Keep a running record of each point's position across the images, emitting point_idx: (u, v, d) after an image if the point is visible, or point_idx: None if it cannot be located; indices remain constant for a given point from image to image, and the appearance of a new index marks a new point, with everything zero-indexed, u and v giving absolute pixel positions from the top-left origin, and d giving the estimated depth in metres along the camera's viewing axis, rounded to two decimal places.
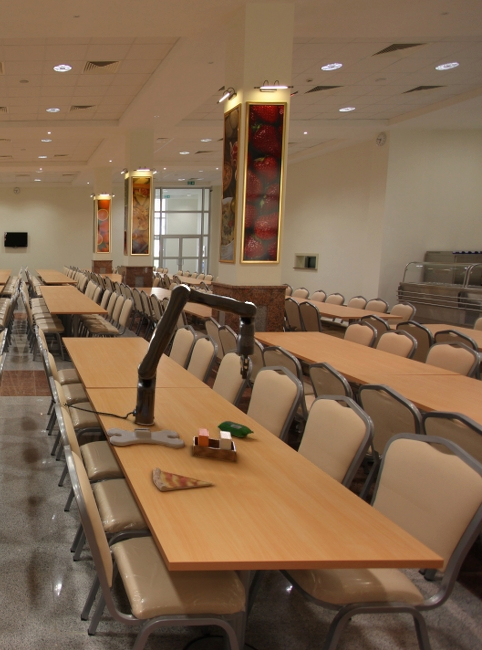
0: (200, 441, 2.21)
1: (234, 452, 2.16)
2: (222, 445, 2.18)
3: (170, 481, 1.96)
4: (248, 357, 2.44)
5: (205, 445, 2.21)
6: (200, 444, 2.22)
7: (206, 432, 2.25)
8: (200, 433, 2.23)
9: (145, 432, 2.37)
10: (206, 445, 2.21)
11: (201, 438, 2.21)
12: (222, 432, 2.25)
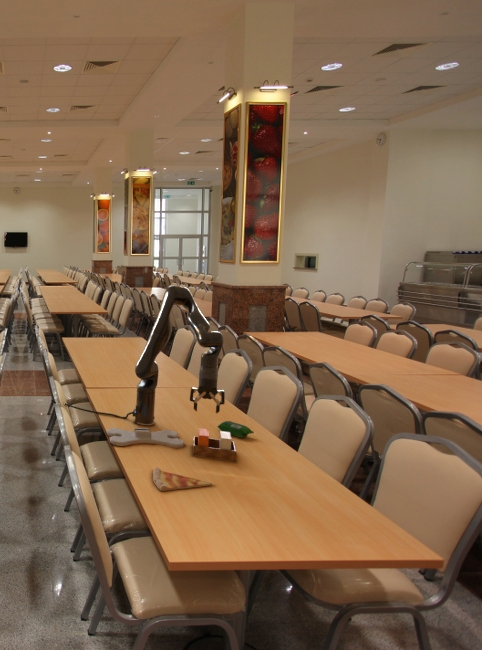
0: (200, 441, 2.21)
1: (234, 452, 2.16)
2: (222, 445, 2.18)
3: (170, 481, 1.96)
4: (210, 392, 2.21)
5: (205, 445, 2.21)
6: (200, 444, 2.22)
7: (206, 432, 2.25)
8: (200, 433, 2.23)
9: (145, 432, 2.37)
10: (206, 445, 2.21)
11: (201, 438, 2.21)
12: (222, 432, 2.25)
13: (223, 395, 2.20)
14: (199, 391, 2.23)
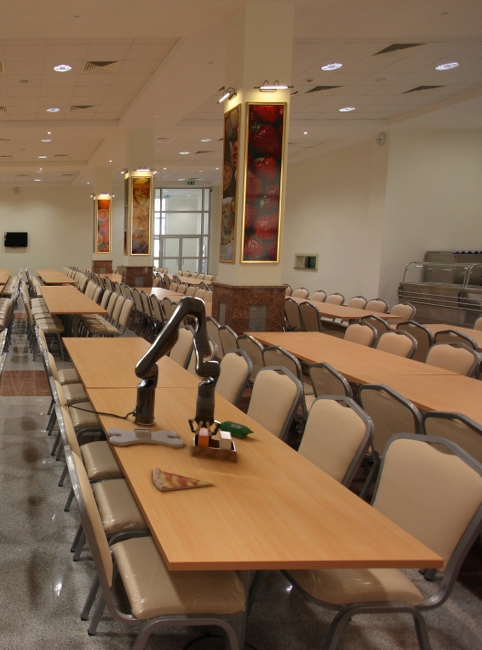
0: (200, 441, 2.21)
1: (234, 452, 2.16)
2: (222, 445, 2.18)
3: (170, 481, 1.96)
4: (207, 421, 2.22)
5: (205, 445, 2.21)
6: (200, 444, 2.22)
7: (206, 432, 2.25)
8: (200, 433, 2.23)
9: (145, 432, 2.37)
10: (206, 445, 2.21)
11: (201, 438, 2.21)
12: (222, 432, 2.25)
13: (218, 427, 2.21)
14: (196, 420, 2.24)
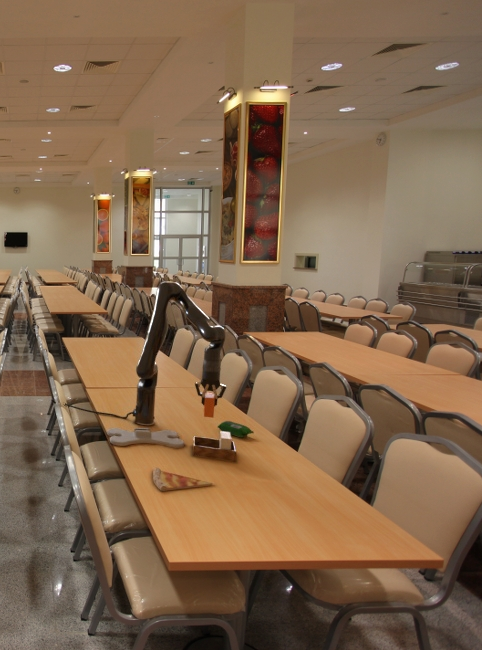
0: (206, 403, 2.29)
1: (234, 452, 2.16)
2: (222, 445, 2.18)
3: (170, 481, 1.96)
4: (213, 384, 2.30)
5: (211, 407, 2.29)
6: (206, 406, 2.29)
7: (212, 395, 2.32)
8: (206, 396, 2.31)
9: (145, 432, 2.37)
10: (212, 407, 2.29)
11: (207, 400, 2.29)
12: (222, 432, 2.25)
13: (224, 390, 2.29)
14: (202, 383, 2.32)
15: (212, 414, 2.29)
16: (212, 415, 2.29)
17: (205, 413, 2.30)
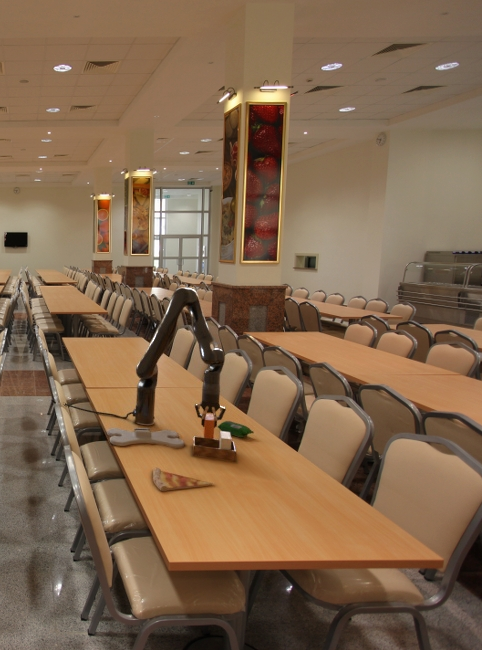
0: (206, 425, 2.32)
1: (234, 452, 2.16)
2: (222, 445, 2.18)
3: (170, 481, 1.96)
4: (213, 406, 2.33)
5: (211, 429, 2.32)
6: (206, 428, 2.32)
7: (212, 417, 2.35)
8: (206, 418, 2.34)
9: (145, 432, 2.37)
10: (212, 429, 2.32)
11: (207, 422, 2.32)
12: (222, 432, 2.25)
13: (223, 412, 2.32)
14: (202, 405, 2.35)
15: (212, 436, 2.32)
16: (212, 437, 2.32)
17: (205, 434, 2.33)
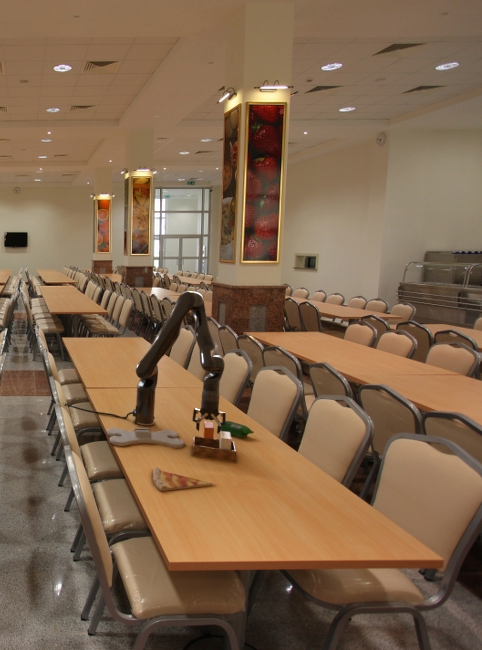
0: (206, 433, 2.33)
1: (234, 452, 2.16)
2: (222, 445, 2.18)
3: (170, 481, 1.96)
4: (212, 413, 2.33)
5: (210, 437, 2.32)
6: (206, 436, 2.33)
7: (211, 424, 2.36)
8: (206, 425, 2.35)
9: (145, 432, 2.37)
10: (211, 437, 2.32)
11: (207, 430, 2.32)
12: (222, 432, 2.25)
13: (224, 416, 2.32)
14: (201, 412, 2.36)
15: None
16: None
17: None
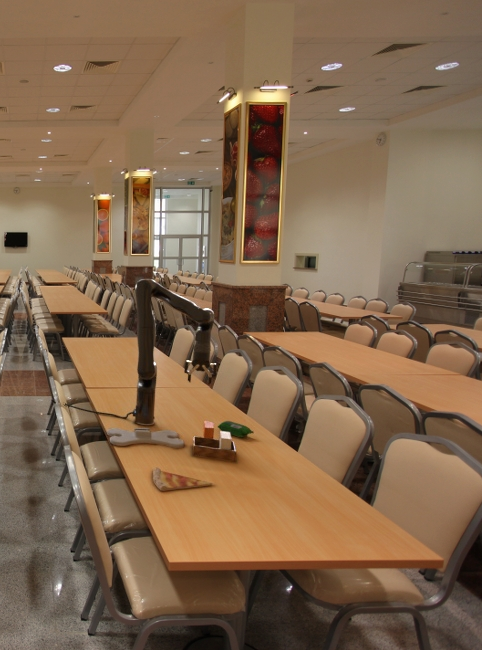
0: (206, 433, 2.33)
1: (234, 452, 2.16)
2: (222, 445, 2.18)
3: (170, 481, 1.96)
4: (203, 364, 2.41)
5: (210, 437, 2.32)
6: (206, 436, 2.33)
7: (211, 424, 2.36)
8: (206, 425, 2.35)
9: (145, 432, 2.37)
10: (211, 437, 2.32)
11: (207, 430, 2.32)
12: (222, 432, 2.25)
13: (215, 368, 2.39)
14: (193, 364, 2.43)
15: None
16: None
17: None
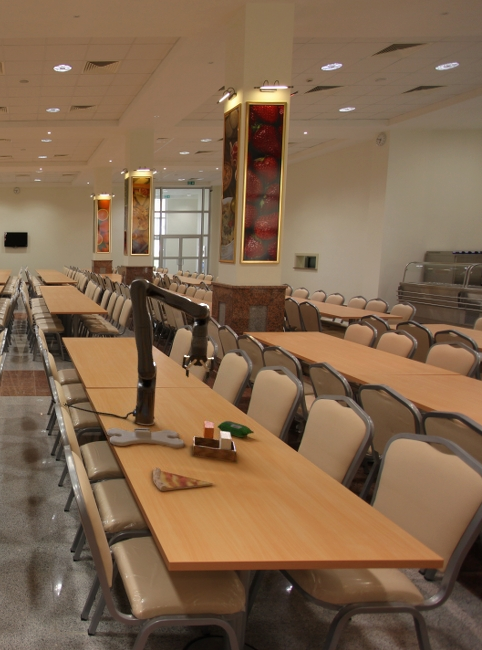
0: (206, 433, 2.33)
1: (234, 452, 2.16)
2: (222, 445, 2.18)
3: (170, 481, 1.96)
4: (200, 359, 2.43)
5: (210, 437, 2.32)
6: (206, 436, 2.33)
7: (211, 424, 2.36)
8: (206, 425, 2.35)
9: (145, 432, 2.37)
10: (211, 437, 2.32)
11: (207, 430, 2.32)
12: (222, 432, 2.25)
13: (212, 362, 2.42)
14: (191, 359, 2.45)
15: None
16: None
17: None
